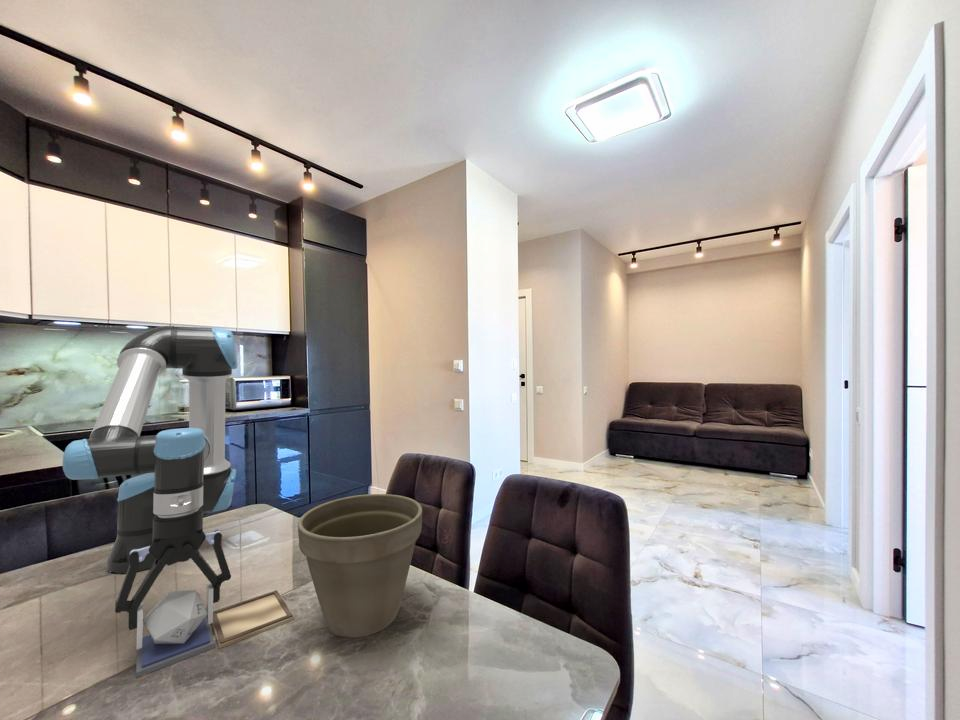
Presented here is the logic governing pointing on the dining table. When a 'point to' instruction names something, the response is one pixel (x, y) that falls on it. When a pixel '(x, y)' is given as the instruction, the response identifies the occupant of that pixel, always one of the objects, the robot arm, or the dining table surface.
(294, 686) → the dining table surface
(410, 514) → the plant pot
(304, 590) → the dining table surface
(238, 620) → the board
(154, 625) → the die
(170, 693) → the dining table surface
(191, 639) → the ink pad
